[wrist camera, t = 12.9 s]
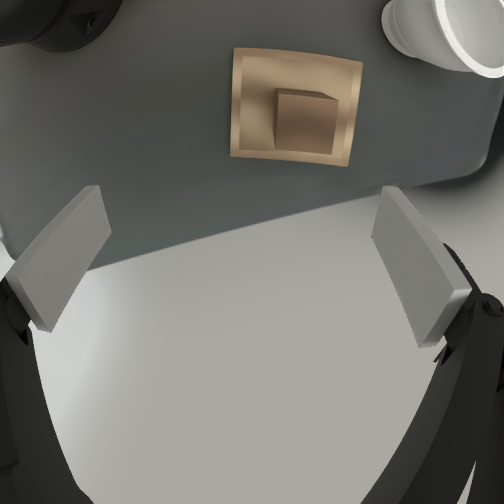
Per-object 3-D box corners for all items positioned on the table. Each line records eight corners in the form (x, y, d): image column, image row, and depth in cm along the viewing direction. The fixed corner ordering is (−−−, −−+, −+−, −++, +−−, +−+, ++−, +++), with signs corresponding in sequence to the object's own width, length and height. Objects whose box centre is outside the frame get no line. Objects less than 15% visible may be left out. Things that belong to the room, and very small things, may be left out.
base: (236, 49, 27) (233, 47, 25) (354, 62, 27) (363, 62, 25) (232, 149, 35) (230, 157, 33) (341, 159, 35) (348, 167, 33)
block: (275, 87, 27) (279, 93, 21) (321, 92, 27) (338, 100, 21) (272, 130, 30) (275, 149, 24) (316, 134, 30) (331, 154, 24)
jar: (443, 71, 26) (520, 90, 14) (375, 59, 27) (440, 63, 15) (438, 2, 20) (512, -7, 8) (368, -15, 21) (425, -48, 9)
